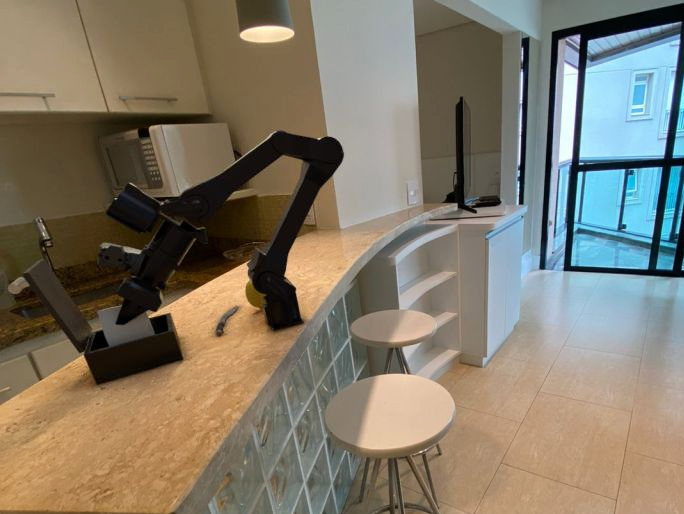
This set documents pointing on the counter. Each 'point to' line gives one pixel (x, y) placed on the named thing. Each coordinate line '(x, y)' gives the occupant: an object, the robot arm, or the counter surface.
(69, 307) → the box lid
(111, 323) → the grey angular block
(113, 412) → the counter surface
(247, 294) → the lemon
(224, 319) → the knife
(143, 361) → the black open box
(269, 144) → the robot arm
